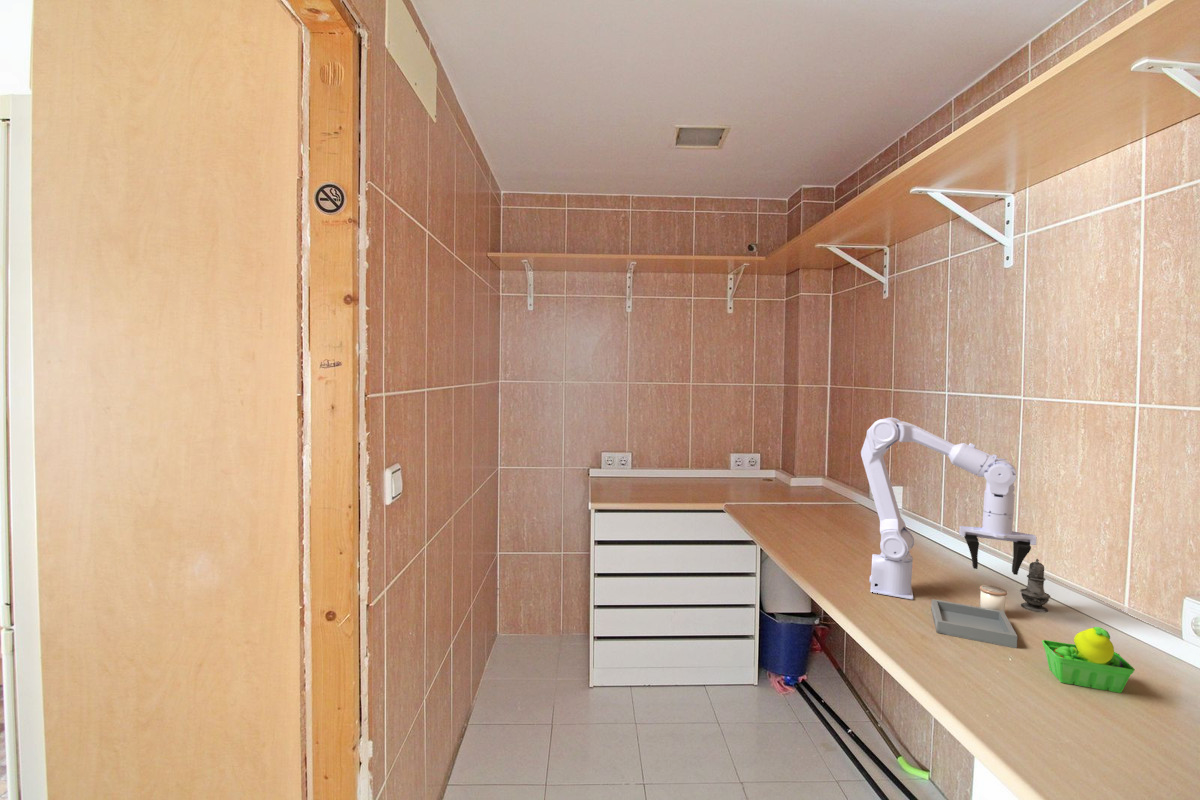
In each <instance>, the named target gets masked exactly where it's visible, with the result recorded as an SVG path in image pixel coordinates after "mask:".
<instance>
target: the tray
mask: <svg viewBox="0 0 1200 800" xmlns="http://www.w3.org/2000/svg"><path fill="white" fill-rule="evenodd" d="M930 607H931V609H930V610H931V613H932V617H933V618H932V619H933V623H934V628H935V630H936V634H941V635H946V636H951V637H958V638H963V639H968V640H972V641H977V642H983V643H987V644H991V645H992V644H993V645H996V646H997V645H999V646H1003V647H1007V648H1013V649H1017V647H1018V635H1017V633H1016V630H1014V628H1013V626H1012V623H1011V622H1010V620H1009V619H1008V617H1007V615H1006V612H1005V613H1004V611H999V610H993V609H988V608H982V607H980V606H973V605H968V604H963V603H956V602H951V601H946V600H941V599H934V598H932V599H931V606H930Z"/></svg>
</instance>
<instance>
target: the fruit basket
mask: <svg viewBox="0 0 1200 800" xmlns="http://www.w3.org/2000/svg"><path fill="white" fill-rule="evenodd" d="M1110 639H1111V635H1110V633H1109V632H1108V630H1106V629H1104V628H1102V627H1099V626H1094V627H1091V628H1087V629H1085V630H1081V631H1079V632H1078V633H1076V634H1075V636H1074V637H1073V642H1074V644H1073V643H1066V642H1059V641H1052V640H1046V639H1043V640H1041V643H1042V647H1043V648H1044V651H1045V656H1046V661H1047V665H1048V669H1049V671H1050V672H1051V673H1052V674H1053V675H1054V677H1055V678H1056V679H1058V681H1059V682H1060V683H1063V684H1066V685H1068V684H1069V685H1074V686H1079V687H1083V688H1092V689H1096V690H1101V691H1108V690H1109V692H1113V693H1119V694H1121V693H1122V692H1123V690H1124V688H1125V687H1126V685H1127V683H1128V681H1129V679H1130V677H1131V675H1133V673H1134V672H1135V668H1134V667H1133V666H1132V665H1131V664H1130V663H1129V662H1128V661H1127V660H1126V659H1124V658H1123V657H1122V656H1121V655H1120V654H1118V652H1116V651H1115V647H1114V644H1113V642H1112V641H1111V640H1110Z"/></svg>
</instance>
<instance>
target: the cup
mask: <svg viewBox="0 0 1200 800" xmlns="http://www.w3.org/2000/svg"><path fill="white" fill-rule="evenodd" d="M979 590H980V596H979V597H980V599H979V607H982V608H988V609H993V610H999V611H1004V613H1005V614H1006V600H1007V598H1006V596H1007V595H1008V591H1007V590H1006V589H1004V588H1003V587H1001V586H1000V587H999V586H997V585H996V586H995V585H992V584H982V585H979Z"/></svg>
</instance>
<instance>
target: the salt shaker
mask: <svg viewBox="0 0 1200 800" xmlns="http://www.w3.org/2000/svg"><path fill="white" fill-rule="evenodd" d="M1039 561H1040V560H1039V558H1036V559H1035V561H1032V562H1030V563H1029V564H1028V565H1029V566H1028V575H1027V574H1026V578H1027V586H1026V587H1025V588H1021V589H1020V590H1019V592H1020V595H1021V597H1022V599H1023V601H1024V602H1021V603H1020V606H1021V607H1022V608H1023V609H1026V610H1028V611H1032V612H1036V613H1048V612H1049V609H1048V608H1047V607H1045V605H1046V604H1047V603H1048V602H1049V601H1050V599H1051V595H1050V594H1049V593H1047V592H1046V591H1045V587H1044V586H1045V585H1044V584H1045V583H1044V582H1045V581H1046V578H1045V566H1044V564H1042V563H1041V562H1039Z"/></svg>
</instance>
